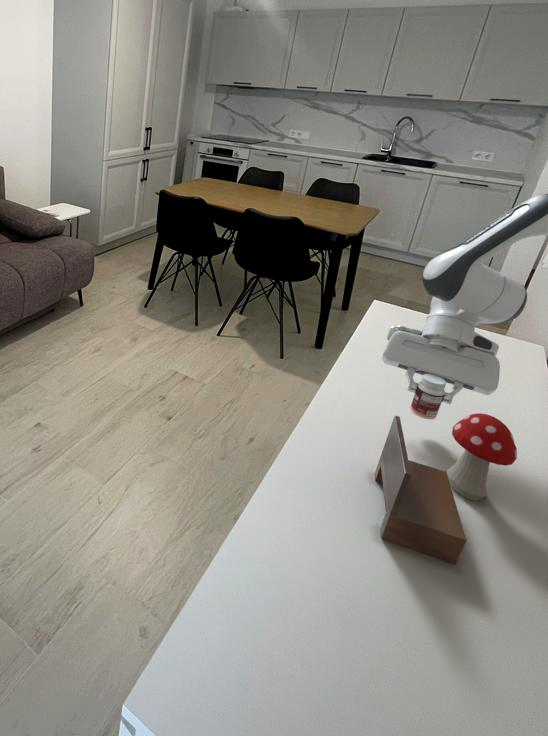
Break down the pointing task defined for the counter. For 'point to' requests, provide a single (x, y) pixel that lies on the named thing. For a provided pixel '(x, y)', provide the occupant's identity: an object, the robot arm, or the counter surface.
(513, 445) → the decorative mushroom
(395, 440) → the wooden display stand
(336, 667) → the counter surface
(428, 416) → the pill bottle
